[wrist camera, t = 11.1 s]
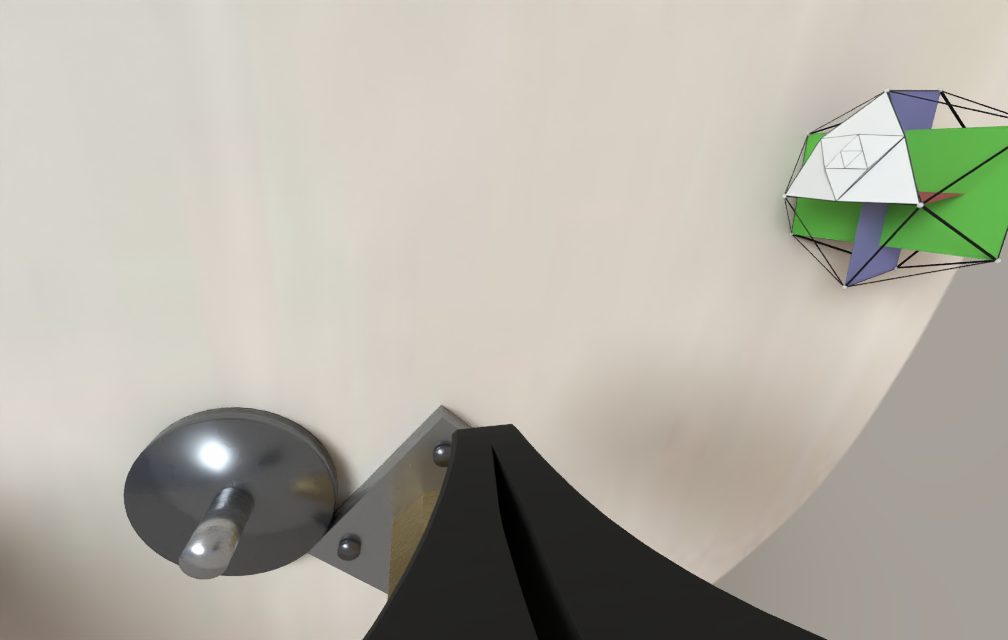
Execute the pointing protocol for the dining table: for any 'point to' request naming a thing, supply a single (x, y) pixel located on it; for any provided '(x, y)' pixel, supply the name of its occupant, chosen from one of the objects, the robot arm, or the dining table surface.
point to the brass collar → (409, 535)
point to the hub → (387, 502)
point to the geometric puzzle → (903, 185)
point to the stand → (231, 492)
